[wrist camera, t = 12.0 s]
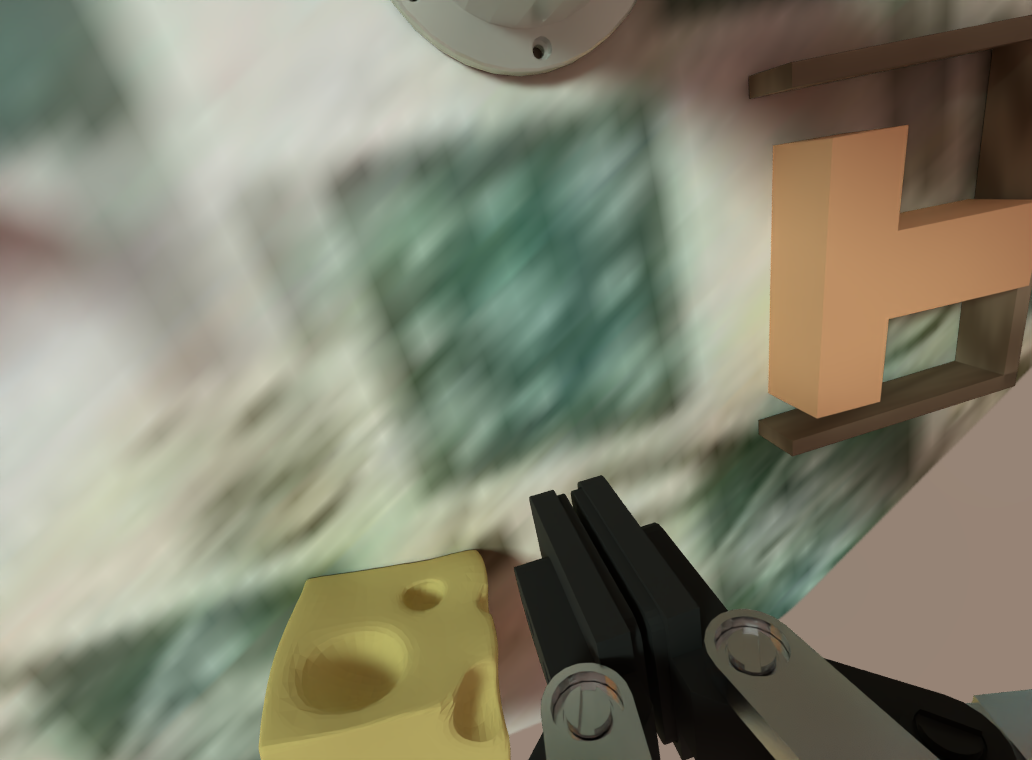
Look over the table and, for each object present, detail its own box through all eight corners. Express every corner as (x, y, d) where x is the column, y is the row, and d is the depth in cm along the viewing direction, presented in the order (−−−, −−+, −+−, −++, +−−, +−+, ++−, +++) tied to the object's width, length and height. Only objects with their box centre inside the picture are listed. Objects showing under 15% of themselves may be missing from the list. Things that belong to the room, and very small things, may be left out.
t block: (772, 145, 27) (832, 138, 24) (981, 109, 29) (1066, 97, 26) (768, 393, 32) (816, 418, 29) (946, 347, 34) (1013, 366, 31)
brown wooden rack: (748, 76, 26) (792, 62, 23) (1010, 23, 28) (1078, 5, 25) (758, 434, 33) (792, 456, 30) (966, 370, 35) (1014, 385, 33)
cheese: (479, 542, 31) (518, 688, 22) (487, 679, 35) (523, 854, 26) (292, 572, 29) (248, 748, 20) (321, 715, 33) (295, 919, 24)
